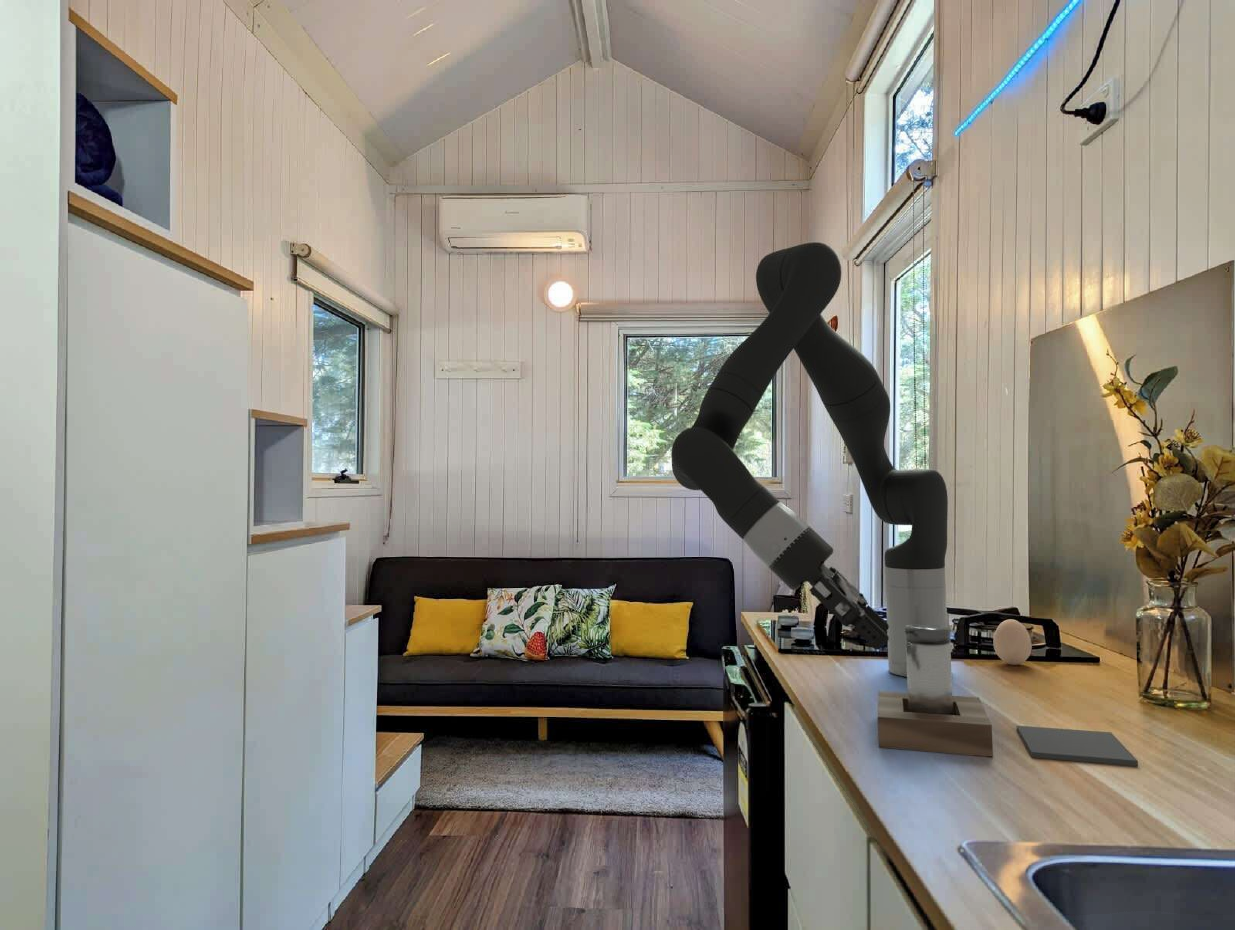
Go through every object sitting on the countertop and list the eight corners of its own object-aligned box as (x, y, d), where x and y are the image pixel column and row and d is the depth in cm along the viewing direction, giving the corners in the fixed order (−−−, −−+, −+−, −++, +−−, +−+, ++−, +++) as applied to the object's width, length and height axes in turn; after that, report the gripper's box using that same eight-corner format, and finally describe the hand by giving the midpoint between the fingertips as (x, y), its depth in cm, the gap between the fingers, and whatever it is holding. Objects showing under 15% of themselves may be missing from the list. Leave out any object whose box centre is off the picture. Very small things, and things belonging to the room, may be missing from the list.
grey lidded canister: (923, 727, 94) (919, 622, 95) (962, 736, 90) (958, 627, 91) (900, 735, 91) (896, 627, 92) (939, 745, 87) (935, 633, 88)
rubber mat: (1016, 730, 92) (1016, 725, 92) (1111, 737, 89) (1110, 732, 89) (1031, 757, 83) (1031, 751, 83) (1138, 766, 80) (1137, 760, 80)
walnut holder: (879, 718, 99) (878, 691, 99) (980, 725, 95) (978, 697, 95) (878, 747, 87) (877, 716, 87) (993, 757, 83) (991, 725, 83)
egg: (1033, 669, 123) (1031, 622, 124) (994, 666, 126) (992, 621, 126) (1031, 662, 129) (1029, 617, 129) (993, 659, 131) (992, 616, 131)
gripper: (801, 526, 90) (907, 627, 86) (812, 522, 103) (905, 609, 99) (758, 570, 92) (860, 671, 87) (774, 561, 105) (864, 647, 101)
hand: (884, 638), depth 93 cm, fingers open, 8 cm apart
